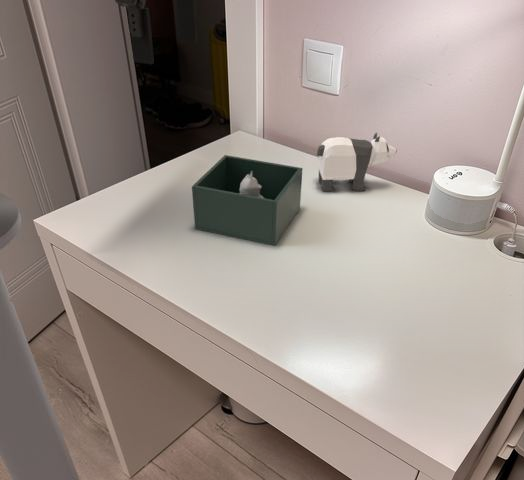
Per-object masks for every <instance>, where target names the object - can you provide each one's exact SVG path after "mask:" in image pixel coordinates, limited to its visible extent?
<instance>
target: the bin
mask: <svg viewBox="0 0 524 480" xmlns="http://www.w3.org/2000/svg"><path fill="white" fill-rule="evenodd" d="M303 170H304V169H303V167H299V166H292V165H287V164H280V163H275V162H270V161H263V160H258V159H252V158H246V157H241V156H240V157H239V156H235V155H234V156H233V155H227V154H224V155H223V156H222V157H221V158H220V159H219V160H218V161H217V162H216V163H215V164H214V165H213V166H211V167H210V169H209V170H207V171H206V172H204V174H203V175H202V176H201V177H200V178H199V179H197V181H196V182H195V183H193V185H191V193H192V194H191V195H192V207H193V219H194V220H193V221H194V229H195V230H200V231H204V232H209V233H214V234H218V235H222V236H227V237H232V238H233V237H234V238H238V239H243V240H246V241H251V242H257V243H261V244H266V245H272V246H276V245H277V244H278V242H279V241H280V239H281V238H282V236H283V235H284V233H286V230H287V229H288V228H289V226H290V224H291V223H292V221H293V220H294V218H295V217H296V216H297V214H298V213H299V211H300V209H301V199H302V198H301V197H302V185H303V184H302V182H303ZM251 172H252V174H253V176H252V177H254V178H255V179H256V180H257V182H258V184H259V185H261V187H262V188H261V189H260V193H259V194H260V195H261V196H263V197H264V198H260V197H255V196H250V195H244V194H239V193H240V191H239V190H240V184H241V182H242V180H243V179H244V178H245V177H246V175H247V174H249V175H250V174H251Z"/></svg>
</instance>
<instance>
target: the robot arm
mask: <svg viewBox="0 0 524 480" xmlns="http://www.w3.org/2000/svg"><path fill="white" fill-rule="evenodd" d="M114 1H115V4H118V6H119V7H123V8H126V10H127V18H128V23H129V26H128V27H129V32H130V40H131V46H132V48H131V49H132V55H133V63H139V64H145V65H153V64H155V57H154V47H153V45H154V44H153V36H152V35H153V34H152V25H151V15H150V13H151V12H150V8H149V7H146V2H147V0H114ZM176 6H177V20H178V21H177V22H178V36H179V37H178V38H179V39H178V40H179V41H184V42H192V43H196V42H198V23H197V0H176Z"/></svg>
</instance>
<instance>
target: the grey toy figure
mask: <svg viewBox="0 0 524 480" xmlns="http://www.w3.org/2000/svg"><path fill="white" fill-rule="evenodd" d="M252 176H253V174H252V172H251V174H250V175H249V174H247V175H246V177H245V178H244V179H243V180H242V182H241V184H240V190H239V191H240V193H239V194H244V195H250V196H255V197H260V198H264V197H263V196H261V195H260V194H259V193H260V189H261V188H262V187H261V185H259V184H258V182H257V180H256V179H255V178H254V177H252Z"/></svg>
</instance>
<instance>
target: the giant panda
mask: <svg viewBox="0 0 524 480" xmlns="http://www.w3.org/2000/svg"><path fill="white" fill-rule="evenodd" d="M316 151H317V152H316V153H317V154H316V156H317V157H318V183H319V184H321V187H320V188H321V190H322V191H323V192H333V191H334V192H335V189H336V188H335V186H334V185H333V184H332V183H333V181H334V180H335V181H336V180H337V181H345V180H348V182H349V183H352V190H353V191H356V192H357V191H359V192H360V191H361V192H362V191H363V192H364V191H366V190H367V187H366V185H364V182H365V177H366V174H367V171H368V168H369V167H371V166H375V165H380V164H383V163H384V162H386V161H387V160H388V159H390V158H393V156H395V155H396V154H397V151H398V149H397V148H395V147H393V146H392V145H390V144H388V142H387V140H386V138H384V136H378V132H375V133H374V134H373V138H372V140H370V141H369V140H366V139H357V138H349V137H342V136H338V137H330V138H327V139H325V140H324V141H323V142H322V143H321V144H320V145H319V146H318V148H317V150H316Z"/></svg>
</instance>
